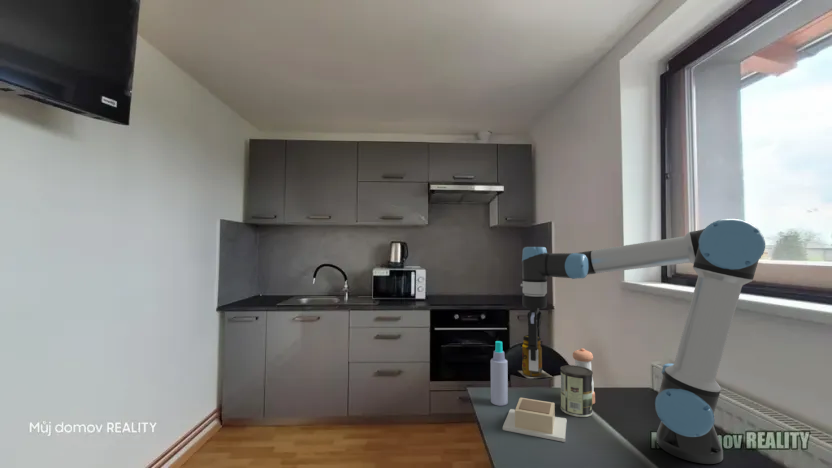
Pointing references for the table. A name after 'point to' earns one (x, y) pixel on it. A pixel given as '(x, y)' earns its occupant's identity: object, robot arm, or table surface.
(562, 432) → the structure base
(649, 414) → the table surface
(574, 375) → the coffee can
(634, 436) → the table surface
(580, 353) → the pepper shaker
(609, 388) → the table surface
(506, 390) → the spray bottle
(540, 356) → the condiment
